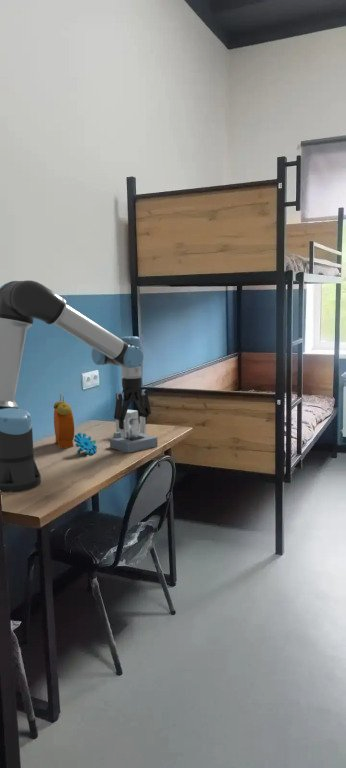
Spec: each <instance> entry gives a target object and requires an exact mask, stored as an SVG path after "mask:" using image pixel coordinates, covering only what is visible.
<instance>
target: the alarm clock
mask: <svg viewBox="0 0 346 768" xmlns="http://www.w3.org/2000/svg"><path fill="white" fill-rule="evenodd" d="M59 394H60V395H59V399H60V400H59V401H56V402H55V403H54V404H53V409H54V410H53V427H54V435H55V444H58V448H59V449H62V448H63V449H64V448H65V449H66V448H73V447H74V439H75V437H74V436H75V420H74V415H73V410H72V406H71V405H70V404H68V402H66V401H65V400H64V399H65V398H64V397H65V396H64V395H63V394H62V393H59Z"/></svg>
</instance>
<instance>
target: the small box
mask: <svg viewBox="0 0 346 768" xmlns="http://www.w3.org/2000/svg"><path fill="white" fill-rule="evenodd" d="M128 418H139V410H136V409H135V410H134V409H128V410H127V413H126V416H125V419H124V420H125V421H126V430H128V429H127V419H128ZM115 430H116V432H121V429H119V420H116V419H115ZM116 432H115V433H116Z"/></svg>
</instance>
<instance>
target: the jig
mask: <svg viewBox="0 0 346 768" xmlns="http://www.w3.org/2000/svg"><path fill="white" fill-rule="evenodd" d="M126 435H127V437H126V438H124V437H121V432H114V433H113V437H110V438H109V447H110V448H113V449H115V450H117V451H118V450H119V451H121V452H123V453H127V454H130V453H134V452H139V451H143V450H147V449H151V448H156V447H158V437H157V436H153V435H150V434H147V433H146V434H143V433H140V431H139V439H138V440H133V441H131V440H128V430H126Z"/></svg>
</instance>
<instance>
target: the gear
mask: <svg viewBox="0 0 346 768" xmlns="http://www.w3.org/2000/svg"><path fill="white" fill-rule="evenodd" d="M87 435H88V434H86V433H82V432H78V433H76V434H74V439H73V442H74V443H75V446H76V447H77V448H78V447H79V448H78V450H77V454H78V453H81V452H83V451H84V454H86V455H91V456H93V455H94V454H96V453H97V449H98V445H95V444H96V443H97V442H98V441H97V440H96V439H94V440H92V437H91V436H90V435H89V436H88V437H87Z"/></svg>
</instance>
